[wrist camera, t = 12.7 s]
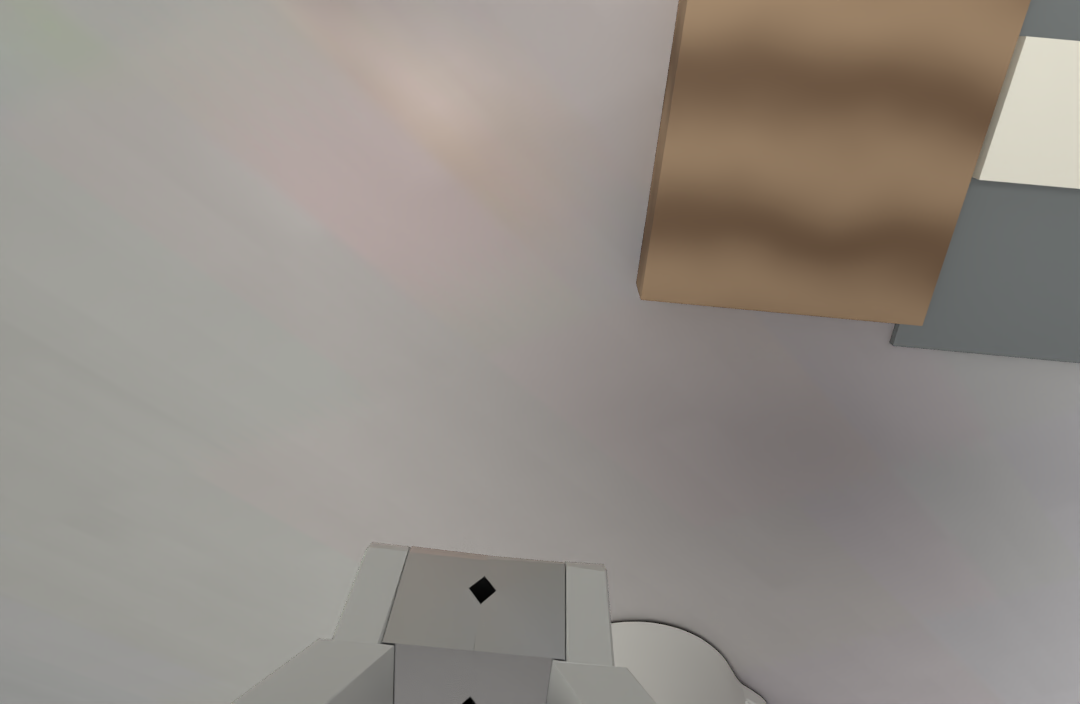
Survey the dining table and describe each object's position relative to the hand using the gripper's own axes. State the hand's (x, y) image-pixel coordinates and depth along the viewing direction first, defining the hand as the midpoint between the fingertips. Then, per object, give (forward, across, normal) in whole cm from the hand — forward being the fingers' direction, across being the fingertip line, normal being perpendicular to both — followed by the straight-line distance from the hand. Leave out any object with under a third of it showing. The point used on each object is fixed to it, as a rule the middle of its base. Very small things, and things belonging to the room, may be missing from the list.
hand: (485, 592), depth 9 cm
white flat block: (+28, -24, -5) cm, 38 cm away
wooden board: (+29, -12, -5) cm, 32 cm away
